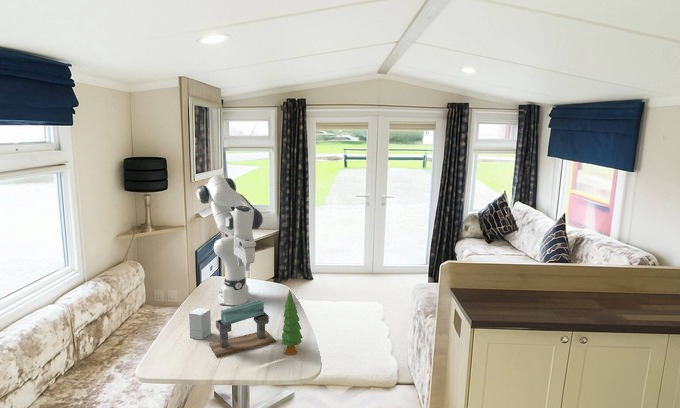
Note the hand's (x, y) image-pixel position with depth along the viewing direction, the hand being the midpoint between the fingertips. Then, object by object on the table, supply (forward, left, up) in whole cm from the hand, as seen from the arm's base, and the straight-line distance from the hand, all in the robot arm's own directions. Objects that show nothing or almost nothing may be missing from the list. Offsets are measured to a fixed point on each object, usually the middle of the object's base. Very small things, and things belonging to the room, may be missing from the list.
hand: (243, 267), depth 201 cm
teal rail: (+10, -4, -21) cm, 24 cm away
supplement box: (-9, -19, -34) cm, 40 cm away
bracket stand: (+10, -4, -34) cm, 36 cm away
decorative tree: (+28, +13, -34) cm, 46 cm away
